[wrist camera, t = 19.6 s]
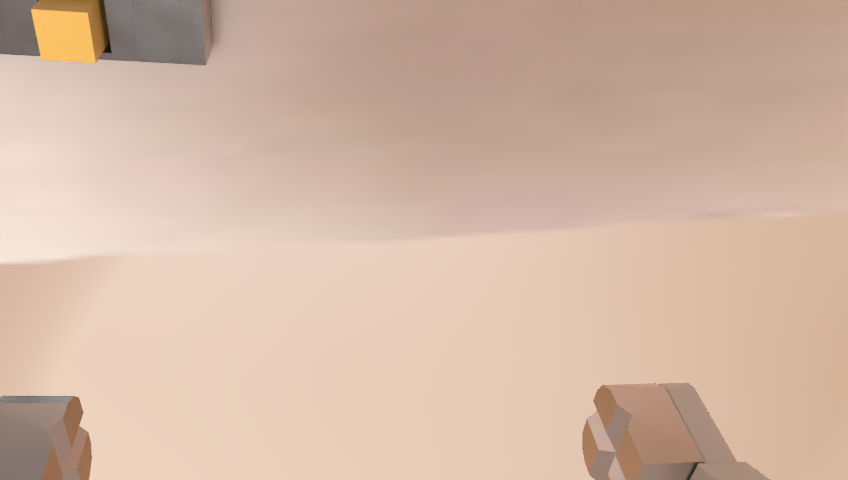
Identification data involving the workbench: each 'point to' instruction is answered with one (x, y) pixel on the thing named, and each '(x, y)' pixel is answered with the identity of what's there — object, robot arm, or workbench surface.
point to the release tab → (71, 29)
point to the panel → (126, 30)
